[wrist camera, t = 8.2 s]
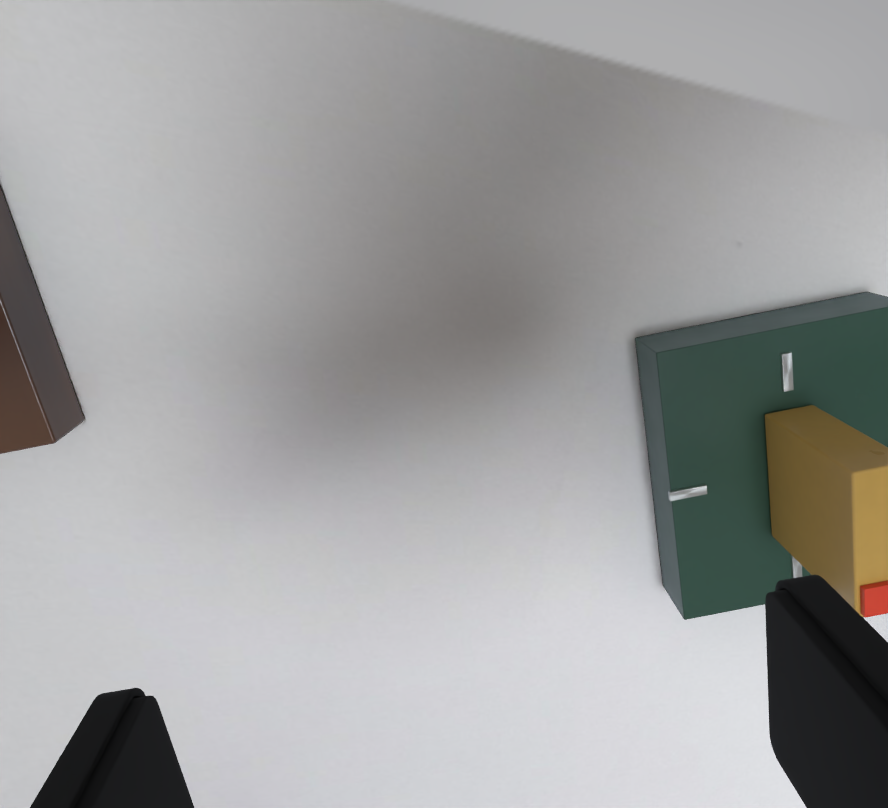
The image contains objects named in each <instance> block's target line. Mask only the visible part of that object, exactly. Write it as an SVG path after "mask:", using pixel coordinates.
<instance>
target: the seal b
mask: <svg viewBox="0 0 888 808" xmlns="http://www.w3.org/2000/svg"><path fill="white" fill-rule="evenodd" d="M765 428H766V445H767V462H768V478H769V495H770V512H771V528H772V536H773V537H774V538H775V539H776V540H777V541H778V542H779V543H780V544H781V545H782V546H783V547H784V548H785V549H786V550H787V551H788V552H789V553H790V554H791V555H792V556H793V557H794V558H795V559H796V560H797V561H798V562H799V563H800V564H801V565H802V566H803V567H804V568H805V569H806V570H807V571H808V572H809V573H810V574H811V575H819V576H821V577H822V578H823V579H825V580H826V581H827V582H828V583H829V584H830V585H831V586H832V587H833V588H834V589H835V590H836V591H837V592H838V593H839V594H840V595H841V596H842V597H843V598H844V599H845V600H846V601H847V602H848V603H849V604H850V605H851V606H852V607H853V608H854V609H855V610H856V611H857V612H858V613H859V614H860V615H861V616H862V617H870V616H875V615H881V614H886V613H888V447H886V446H884V445H883V444H881V443H879V442H877V441H876V440H874V439H872V438H870V437H869V436H867V435H865V434H863V433H862V432H860V431H858V430H856V429H854V428H853V427H851V426H849V425H847V424H846V423H844V422H842V421H840V420H839V419H837V418H835V417H833V416H832V415H830V414H828V413H826V412H824V411H823V410H821V409H819V408H817V407H816V406H814V405H809V406H804V407H799V408H794V409H789V410H784V411H779V412H774V413H769V414H765Z"/></svg>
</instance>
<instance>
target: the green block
mask: <svg viewBox="0 0 888 808" xmlns="http://www.w3.org/2000/svg"><path fill="white" fill-rule="evenodd" d="M635 341H636V350H637V359H638V368H639V377H640V385H641V394H642V403H643V412H644V421H645V429H646V438H647V447H648V456H649V465H650V474H651V482H652V491H653V500H654V509H655V518H656V527H657V535H658V544H659V553H660V562H661V571H662V580H663V586H664V588H665V590H666V591H667V593H668V594H669V596H670V598H671V599H672V601H673V602H674V604H675V606H676V607H677V609H678V610H679V612H680V614H681V615H682V617H683V618H684V619H685V620H686V619H691V618H696V617H701V616H707V615H712V614H717V613H722V612H727V611H732V610H737V609H742V608H748V607H753V606H758V605H763V604H765V600H766V595H767V593H769V592H774V591H775V587H776V584H777V582H778V581H780V580H785V579H791V578H797V577H803V576H809V575H811V574H810V573H809V572H808V571H807V570H806V569H805V568H804V567H803V566H802V565H801V564H800V563H799V562H798V561H797V560H796V559H795V558H794V557H793V556H792V555H791V554H790V553H789V552H788V551H787V550H786V549H785V548H784V547H783V546H782V545H781V544H780V543H779V542H778V541H777V540H776V539H775V538H774V537H773V536H772V528H771V512H770V495H769V478H768V462H767V445H766V428H765V414H769V413H774V412H779V411H784V410H789V409H794V408H799V407H804V406H809V405H814V406H816V407H817V408H819V409H821V410H823V411H824V412H826V413H828V414H830V415H832V416H833V417H835V418H837V419H839V420H840V421H842V422H844V423H846V424H847V425H849V426H851V427H853V428H854V429H856V430H858V431H860V432H862V433H863V434H865V435H867V436H869V437H870V438H872V439H874V440H876V441H877V442H879V443H881V444H883V445H884V446H886V447H888V297H886V296H882V295H878V294H874V293H870V292H864V293H859V294H854V295H849V296H844V297H839V298H834V299H829V300H824V301H819V302H814V303H809V304H804V305H799V306H794V307H789V308H783V309H778V310H773V311H768V312H763V313H758V314H753V315H748V316H743V317H738V318H733V319H728V320H723V321H718V322H713V323H708V324H703V325H698V326H693V327H688V328H683V329H678V330H672V331H667V332H662V333H657V334H652V335H647V336H642V337H637V338H635Z"/></svg>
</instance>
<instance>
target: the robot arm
mask: <svg viewBox="0 0 888 808" xmlns="http://www.w3.org/2000/svg"><path fill="white" fill-rule="evenodd" d="M765 606H766V637H767V667H768V698H769V728H770V739H771V744H772V747H773V750H774V753H775V755H776V758H777V760H778V762H779V763H780V765H781V767H782V768H783V770H784V771H785V773H786V775H787V776H788V778H789V780H790V781H791V783H792V784H793V786H794V788H795V789H796V791H797V793H798V794H799V796H800V797H801V799H802V801H803V802H804V804H805V806H806V807H807V808H888V642H887V641H886V640H885V639H884V638H883V637H882V636H881V635H880V634H879V633H878V632H877V631H876V630H875V629H874V628H873V627H872V626H871V625H870V624H869V623H868V622H867V621H866V620H865V619H864V618H863V617H862V616H861V615H860V614H859V613H858V612H857V611H856V610H855V609H854V608H853V607H852V606H851V605H850V604H849V603H848V602H847V601H846V600H845V599H844V598H843V597H842V596H841V595H840V594H839V593H838V592H837V591H836V590H835V589H834V588H833V587H832V586H831V585H830V584H829V583H828V582H827V581H826V580H825V579H823V578H822V577H821V576H819V575H809V576H803V577H797V578H791V579H785V580H780V581H778V582H777V584H776V587H775V591H774V592H769V593H767V595H766V600H765ZM30 808H194V806H193V803H192V800H191V797H190V794H189V791H188V788H187V786H186V783H185V780H184V777H183V774H182V771H181V768H180V765H179V763H178V760H177V757H176V754H175V751H174V748H173V745H172V743H171V740H170V737H169V734H168V731H167V728H166V725H165V722H164V720H163V717H162V714H161V711H160V708H159V705H158V703H157V701H156V699H155V698H154V697H153V696H145V694H144V692H143V691H142V690H141V689H139V688H133V689H127V690H121V691H115V692H109V693H103V694H100V695H98V696H97V697H96V698H95V700H94V701H93V703H92V704H91V706H90V708H89V709H88V711H87V713H86V714H85V716H84V718H83V719H82V721H81V723H80V724H79V726H78V728H77V729H76V731H75V733H74V735H73V736H72V738H71V740H70V741H69V743H68V745H67V746H66V748H65V750H64V751H63V753H62V755H61V756H60V758H59V760H58V761H57V763H56V765H55V767H54V768H53V770H52V772H51V773H50V775H49V777H48V778H47V780H46V782H45V783H44V785H43V787H42V788H41V790H40V792H39V793H38V795H37V797H36V798H35V800H34V802H33V804H32V805H31V807H30Z"/></svg>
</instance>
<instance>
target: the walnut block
mask: <svg viewBox="0 0 888 808" xmlns="http://www.w3.org/2000/svg"><path fill="white" fill-rule="evenodd" d="M83 421H84V417H83V414H82V411H81V409H80V406H79V403H78V400H77V398H76V395H75V392H74V389H73V386H72V384H71V381H70V378H69V375H68V373H67V370H66V367H65V364H64V362H63V359H62V356H61V353H60V350H59V348H58V345H57V342H56V339H55V337H54V334H53V331H52V328H51V326H50V323H49V320H48V317H47V314H46V312H45V309H44V306H43V303H42V301H41V298H40V295H39V292H38V290H37V287H36V284H35V281H34V278H33V276H32V273H31V270H30V267H29V265H28V262H27V259H26V256H25V254H24V251H23V248H22V245H21V242H20V240H19V237H18V234H17V231H16V229H15V226H14V223H13V220H12V218H11V215H10V212H9V209H8V206H7V204H6V201H5V198H4V195H3V193H2V190H1V187H0V454H2V453H7V452H12V451H17V450H22V449H27V448H32V447H37V446H43V445H48V444H53V443H56V442H57V441H58V440H59V439H61V438H62V437H63V436H65V435H66V434H67V433H69V432H70V431H71V430H72V429H74V428H75V427H76V426H78V425H79V424H80V423H82V422H83Z"/></svg>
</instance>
